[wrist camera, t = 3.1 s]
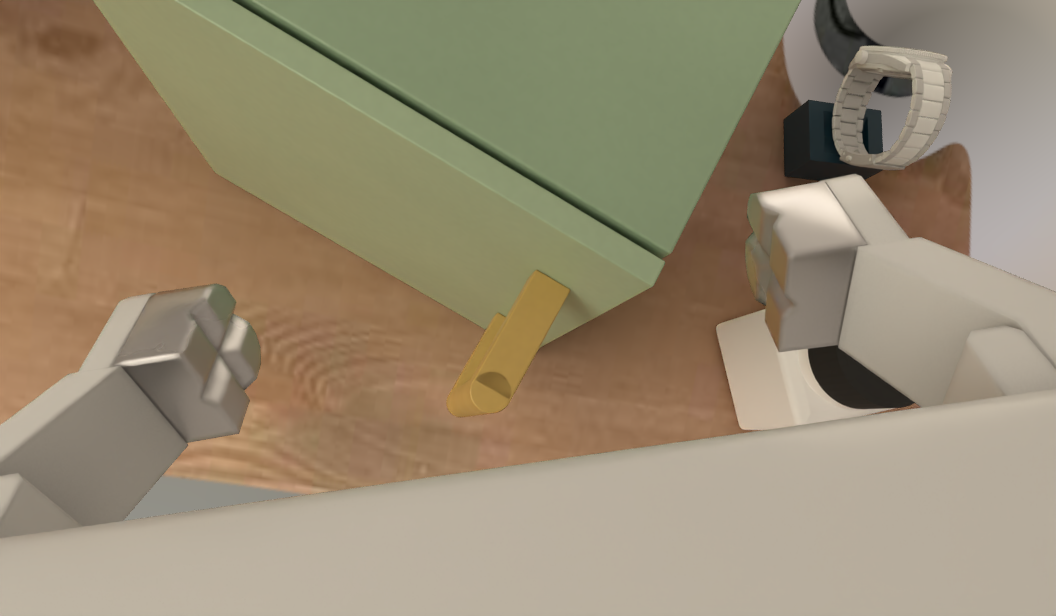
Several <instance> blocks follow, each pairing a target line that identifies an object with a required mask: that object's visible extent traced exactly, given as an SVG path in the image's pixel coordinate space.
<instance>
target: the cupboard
mask: <svg viewBox="0 0 1056 616" xmlns="http://www.w3.org/2000/svg"><path fill="white" fill-rule="evenodd" d="M232 1H234V2H236V3H237V4H239V5H241V6H242V7H244V8H246V9H247V10H249V11H251V12H252V13H254V14H256V15H257V16H259V17H260V18H262V19H264V20H265V21H267V22H269V23H270V24H272V25H274V26H275V27H277V28H279V29H280V30H282V31H284V32H285V33H287V34H289V35H290V36H292V37H294V38H295V39H297V40H299V41H300V42H302V43H304V44H305V45H307V46H309V47H310V48H312V49H314V50H315V51H317V52H319V53H320V54H322V55H323V56H325V57H327V58H328V59H330V60H332V61H333V62H335V63H337V64H338V65H340V66H342V67H343V68H345V69H347V70H348V71H350V72H352V73H353V74H355V75H357V76H358V77H360V78H362V79H363V80H365V81H367V82H368V83H370V84H372V85H373V86H375V87H377V88H378V89H380V90H382V91H383V92H385V93H386V94H388V95H390V96H391V97H393V98H395V99H396V100H398V101H400V102H401V103H403V104H405V105H406V106H408V107H410V108H411V109H413V110H415V111H416V112H418V113H420V114H421V115H423V116H425V117H426V118H428V119H430V120H431V121H433V122H435V123H436V124H438V125H440V126H441V127H443V128H445V129H446V130H448V131H449V132H451V133H453V134H454V135H456V136H458V137H459V138H461V139H463V140H464V141H466V142H468V143H469V144H471V145H473V146H474V147H476V148H478V149H479V150H481V151H483V152H484V153H486V154H488V155H489V156H491V157H493V158H494V159H496V160H498V161H499V162H501V163H503V164H504V165H506V166H508V167H509V168H511V169H512V170H514V171H516V172H517V173H519V174H521V175H522V176H524V177H526V178H527V179H529V180H531V181H532V182H534V183H536V184H537V185H539V186H541V187H542V188H544V189H546V190H547V191H549V192H551V193H552V194H554V195H556V196H557V197H559V198H561V199H562V200H564V201H566V202H567V203H569V204H571V205H572V206H574V207H575V208H577V209H579V210H580V211H582V212H584V213H585V214H587V215H589V216H590V217H592V218H594V219H595V220H597V221H599V222H600V223H602V224H604V225H605V226H607V227H609V228H610V229H612V230H614V231H615V232H617V233H619V234H620V235H622V236H624V237H625V238H627V239H629V240H630V241H632V242H634V243H635V244H637V245H638V246H640V247H642V248H643V249H645V250H647V251H648V252H650V253H652V254H653V255H655V256H657V257H658V258H660V259H663V258H664V257H666V256H667V255H669V254H670V253H672V251H673V249H674V247H675V245H676V243H677V241H678V239H679V237H680V235H681V234H682V232H683V230H684V228H685V226H686V224H687V222H688V220H689V218H690V216H691V214H692V212H693V210H694V208H695V206H696V204H697V202H698V200H699V198H700V197H701V195H702V193H703V191H704V189H705V187H706V185H707V183H708V181H709V179H710V177H711V175H712V173H713V171H714V169H715V167H716V165H717V163H718V161H719V160H720V158H721V156H722V154H723V152H724V150H725V148H726V146H727V144H728V142H729V140H730V138H731V136H732V134H733V132H734V130H735V128H736V126H737V124H738V122H739V121H740V119H741V117H742V115H743V113H744V111H745V109H746V107H747V105H748V103H749V101H750V99H751V97H752V95H753V93H754V91H755V89H756V87H757V85H758V84H759V82H760V80H761V78H762V76H763V74H764V72H765V70H766V68H767V66H768V64H769V62H770V60H771V58H772V56H773V54H774V52H775V50H776V48H777V47H778V45H779V43H780V41H781V39H782V37H783V35H784V33H785V31H786V29H787V27H788V25H789V23H790V21H791V19H792V17H793V15H794V13H795V11H796V9H797V8H798V6H799V3H800V2H801V0H232Z"/></svg>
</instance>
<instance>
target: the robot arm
mask: <svg viewBox="0 0 1056 616" xmlns="http://www.w3.org/2000/svg"><path fill="white" fill-rule="evenodd" d="M747 218H748V221H749V223H750V225H751V227H752V229H753V233H752V234H751V235H750V236H749V238H748V239H747V240H746V248H745V261H746V269H747V276H748V280H749V283H750V287H751V290H752V292H753V295H754V297H755V300H756V301H758V302H760V303H762V304H763V305H765V306H766V310H765V323H766V325H767V327H768V329H769V331H770V334H771V336H772V338H773V340H774V343H775V345H776V347H777V349H778V352H786V351H794V350H802V349H810V348H818V347H826V346H834V345H838V348H839V349H841V350H842V351H844V352H845V353H846V354H848V355H849V356H851V357H852V358H853V359H855V360H856V361H857V362H859V363H860V364H862V365H863V366H864V367H866V368H867V369H869V370H870V371H871V372H873V373H874V374H876V375H877V376H878V377H880V378H881V379H883V380H884V381H885V382H887V383H888V384H889V385H891V386H892V387H894V388H895V389H896V390H898V391H899V392H901V393H902V394H903V395H905V396H906V397H908V398H909V399H910V400H912V401H913V402H915V403H916V404H917V405H919V406H920V407H921V408H915V409H908V410H901V411H894V412H887V413H880V414H873V415H866V416H859V417H852V418H845V419H838V420H831V421H824V422H817V423H810V424H803V425H796V426H789V427H782V428H775V429H768V430H761V431H754V432H747V433H740V434H734V435H727V436H719V437H712V438H705V439H698V440H691V441H684V442H677V443H669V444H662V445H655V446H648V447H641V448H634V449H627V450H619V451H612V452H605V453H598V454H591V455H584V456H577V457H569V458H562V459H555V460H548V461H541V462H534V463H527V464H520V465H513V466H506V467H499V468H492V469H485V470H477V471H470V472H463V473H456V474H449V475H442V476H435V477H428V478H421V479H414V480H407V481H400V482H393V483H386V484H379V485H372V486H365V487H358V488H351V489H344V490H337V491H330V492H323V493H316V494H309V495H302V496H295V497H288V498H281V499H274V500H267V501H259V502H253V503H245V504H238V505H231V506H224V507H217V508H211V509H203V510H196V511H190V512H182V513H175V514H168V515H161V516H154V517H147V518H140V519H133V520H126V521H123V520H124V519H125V518H126V517H127V516H128V514H129V513H130V512H131V511H132V510H133V509H134V508H135V506H136V505H137V504H138V503H139V502H140V501H141V499H142V498H143V497H144V496H145V495H146V494H147V492H148V491H149V490H150V489H151V488H152V487H153V485H154V484H155V483H156V482H157V481H158V480H159V478H160V477H161V476H162V475H163V474H164V473H165V472H166V470H167V469H168V468H169V467H170V466H171V465H172V463H173V462H174V461H175V460H176V459H177V458H178V456H179V455H180V454H181V453H182V452H183V451H184V449H185V448H186V447H187V446H188V444H187V443H188V442H194V441H199V440H205V439H211V438H216V437H222V436H228V435H233V434H239V432H240V429H241V426H242V423H243V420H244V417H245V413H246V410H247V407H248V404H249V401H250V399H249V398H248V396H247V395H246V393H245V391H244V390H245V389H246V388H247V387H248V386H249V385H250V384H251V383H252V382H253V381H255V380H256V379H257V376H258V372H259V369H260V365H261V354H260V345H259V342H258V339H257V336H256V333H255V331H254V330H253V328H252V326H251V325H250V323H249V322H247V321H246V320H244V319H242V318H240V317H238V316H237V315H235V314H233V313H234V309H235V305H236V301H235V299H234V298H233V297H232V295H231V294H230V292H229V291H228V289H227V288H226V287H225V286H222V285H219V284H210V285H203V286H197V287H190V288H183V289H176V290H169V291H162V292H158V293H150V294H144V295H138V296H132V297H128V298H126V299H124V300H122V301H120V302H119V303H118V305H117V306H116V308H115V310H114V311H113V313H112V315H111V317H110V318H109V320H108V322H107V323H106V325H105V327H104V329H103V330H102V332H101V334H100V335H99V337H98V339H97V340H96V342H95V344H94V346H93V347H92V349H91V351H90V352H89V354H88V356H87V358H86V359H85V361H84V363H83V364H82V366H81V368H80V369H79V371H78V372H77V373H71V374H68V375H66V376H65V377H64V378H62V379H61V380H60V381H58V382H57V383H56V384H54V385H53V386H52V387H50V388H49V389H48V390H46V391H45V392H44V393H42V394H41V395H40V396H38V397H37V398H36V399H34V400H33V401H32V402H30V403H29V404H28V405H26V406H25V407H24V408H22V409H21V410H20V411H18V412H17V413H16V414H15V415H13V416H12V417H11V418H9V419H8V420H7V421H5V422H4V423H3V424H1V425H0V616H1056V292H1055V291H1052V290H1050V289H1047V288H1045V287H1043V286H1040V285H1038V284H1035V283H1033V282H1030V281H1028V280H1025V279H1023V278H1020V277H1018V276H1016V275H1013V274H1011V273H1008V272H1006V271H1003V270H1001V269H998V268H996V267H993V266H991V265H988V264H986V263H983V262H981V261H979V260H976V259H974V258H971V257H969V256H966V255H964V254H961V253H959V252H956V251H954V250H951V249H949V248H947V247H944V246H942V245H939V244H937V243H934V242H932V241H929V240H927V239H924V238H922V237H917V238H909V237H908V236H907V235H906V233H905V232H904V231H903V229H902V228H901V227H900V226H899V224H898V223H897V222H896V220H895V219H894V218H893V216H892V215H891V214H890V213H889V211H888V210H887V209H886V207H885V206H884V205H883V203H882V202H881V201H880V200H879V198H878V197H877V196H876V194H875V193H874V192H873V191H872V189H871V188H870V187H869V185H868V184H867V183H866V181H865V180H864V179H863V178H862V176H860V175H857V174H851V175H846V176H841V177H836V178H831V179H826V180H821V181H820V182H816V183H810V184H804V185H799V186H793V187H787V188H782V189H776V190H770V191H765V192H759V193H753V194H750V197H749V201H748V209H747Z"/></svg>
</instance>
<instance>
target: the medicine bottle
mask: <svg viewBox="0 0 1056 616" xmlns="http://www.w3.org/2000/svg"><path fill="white" fill-rule="evenodd" d="M765 310H766V309H764V310H761V311H757V312H754V313H751V314H748V315H745V316H742V317H738V318H735V319H732V320H729V321H726V322H723V323H720V324H718V325H717V327H716V332H717V336H718V340H719V345H720V349H721V353H722V357H723V361H724V365H725V369H726V374H727V378H728V382H729V386H730V390H731V394H732V398H733V402H734V407H735V411H736V415H737V419H738V423H739V426H740V428H742V429H743V430H768V429H775V428H782V427H789V426H796V425H803V424H810V423H817V422H824V421H831V420H838V419H845V418H852V417H859V416H865V415H869V414H873V413H877V412H881V411H886V410H890V409H894V408H901V407H906V406H909V405H912V404H914V403H915V402H913V401H912V400H910V399H909V398H908V397H906V396H905V395H903V394H902V393H901V392H899V391H898V390H896V389H895V388H894V387H892V386H891V385H889V384H888V383H887V382H885V381H884V380H883V379H881V378H880V377H878V376H877V375H876V374H874V373H873V372H871V371H870V370H869V369H867V368H866V367H864V366H863V365H862V364H860V363H859V362H857V361H856V360H855V359H853V358H852V357H851V356H849V355H848V354H846V353H845V352H844V351H842V350H841V349H839V348H838V345H834V346H826V347H818V348H810V349H802V350H794V351H786V352H778V349H777V347H776V345H775V343H774V340H773V338H772V336H771V334H770V331H769V329H768V327H767V325H766V323H765Z"/></svg>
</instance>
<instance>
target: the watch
mask: <svg viewBox="0 0 1056 616" xmlns="http://www.w3.org/2000/svg"><path fill="white" fill-rule="evenodd" d="M947 59H948V57H947V56H945V55H942V54H938V53H935V52H930V51H925V50H918V49H911V48H903V47H891V46H863V47H860V50H859V51H858V52H857V54H856V56H855V58H854V59H853V60H852V61H851V63H850V65H849V71H848V74H846V76H845V78H844V80H843V82H842V84H841V87H842V88H840V89H839V91H838V94H837V97H836V101H838V102H835V103H834V104H833V103H826V102H819V101H813V100H808V101H807V102H806V103H804V104H803V105H802V106H800V107H799V108H798V109H797V110H795V111H794V112H793V113H791V114H790V115H789V116H788V117H786V118H785V119H784V169H785V176H787V177H795V178H802V179H810V180H818V181H821V180H826V179H831V178H836V177H841V176H846V175H851V174H857V175H860V176H862V178H863V179H864V180H865V179H867V178H869V177H871V176H872V175H874V174H876V173H878V172H880V171H882V170H902V169H905V166H908V165H910V163H913V162H915V161H916V160H918V159H919V158H920V157H921V156H922V155H923V154H924V153H925V152H926V151H927V150H928V149H929V147H930V145H932V143H933V142H934V140H935V139H936V137H937V136H938V134H939V131H940V130H941V128H942V126H943V124H944V122H945V119H946V114H947V113H948V109H949V106H950V101H951V100H950V97H951V84H950V83H951V76H952V73H953V72H952V70H951V68H950V67H949V66H948V65H946V64H944V62H946V61H947ZM883 76H888V77H895V78H903V79H913V81H912V93H913V95H912V99H911V106H910V109H911V110H910V111H909V113H908V117H907V119H906V123H905V125H906V126H905V127H904V128H903V130H902V132H901V134H900V136H899V140H897V141H896V142H895V144H894V145H893V146H892V147H891V149H890V150H889V151H887V152H886V151H885V152H883V144H882V123H881V121H882V120H881V111H880V110H873V109H866V107H865V106H866V105H867V104H868V102H869V99H870V97H871V95H872V94H871V92H873V91H874V89H875V87H876V86H877V84H878V83H879V80H881V79H882V77H883ZM866 91H867V92H866ZM847 93H848V94H847ZM852 94H854V95H852ZM858 95H861V96H858ZM926 100H927V101H926ZM933 101H934V102H933ZM861 105H865V106H861ZM914 110H917V111H914ZM940 114H944V115H940ZM918 116H921V117H918ZM924 117H928V118H924ZM931 118H935V119H931ZM914 132H915V133H914ZM921 133H922V134H921Z"/></svg>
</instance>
